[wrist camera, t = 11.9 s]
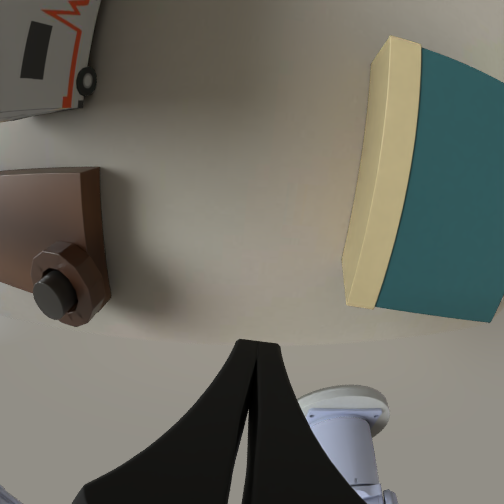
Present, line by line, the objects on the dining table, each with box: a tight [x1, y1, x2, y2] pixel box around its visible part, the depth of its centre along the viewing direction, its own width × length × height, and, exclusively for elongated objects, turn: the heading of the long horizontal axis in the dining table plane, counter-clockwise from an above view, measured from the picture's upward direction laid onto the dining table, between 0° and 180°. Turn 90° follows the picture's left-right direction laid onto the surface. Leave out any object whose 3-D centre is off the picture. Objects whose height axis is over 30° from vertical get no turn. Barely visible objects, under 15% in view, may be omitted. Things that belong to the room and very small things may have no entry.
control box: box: [0, 167, 111, 327], centre depth 17 cm, size 10×15×4 cm
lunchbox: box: [342, 36, 504, 323], centre depth 12 cm, size 12×5×9 cm
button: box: [33, 270, 77, 320], centre depth 16 cm, size 3×3×2 cm
